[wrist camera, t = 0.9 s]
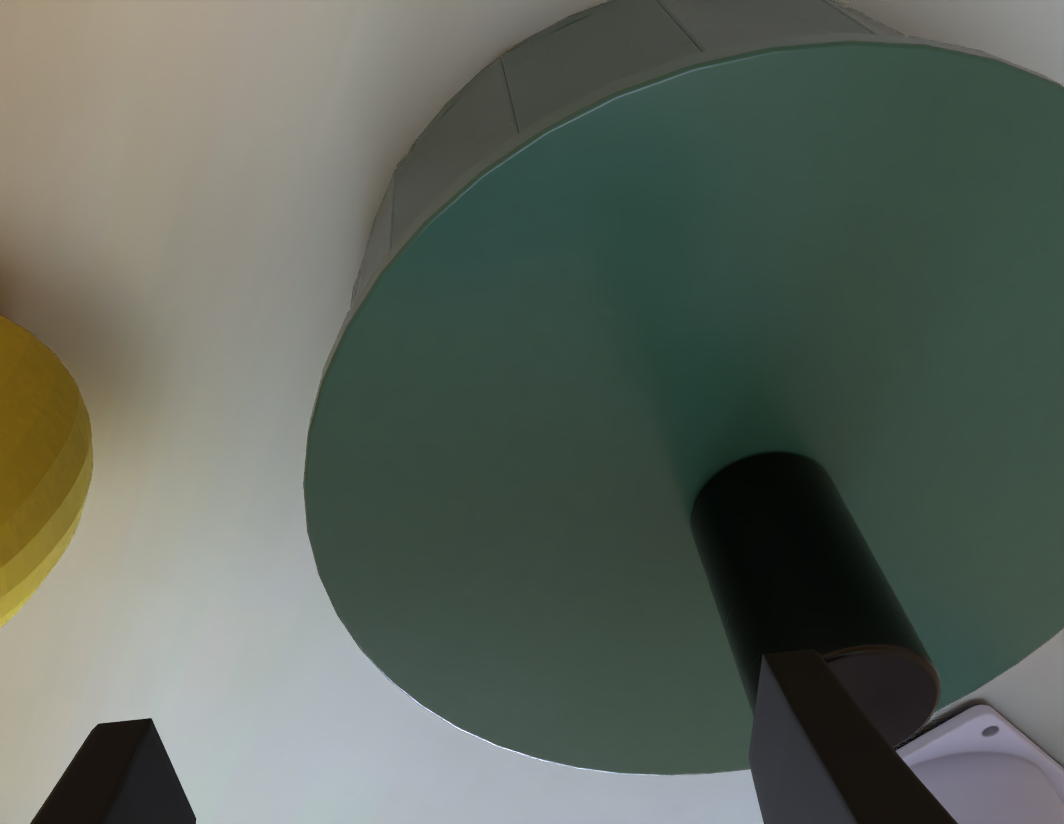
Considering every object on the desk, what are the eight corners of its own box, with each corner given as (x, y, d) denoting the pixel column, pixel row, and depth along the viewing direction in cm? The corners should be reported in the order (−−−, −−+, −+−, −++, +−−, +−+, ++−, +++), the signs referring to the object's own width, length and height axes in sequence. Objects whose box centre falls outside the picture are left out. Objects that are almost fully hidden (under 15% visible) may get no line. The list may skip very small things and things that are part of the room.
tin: (1106, 307, 21) (1289, 459, 17) (646, 631, 26) (692, 816, 21) (741, -213, 15) (878, -192, 10) (221, 342, 20) (162, 520, 15)
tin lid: (1301, 436, 17) (1579, 658, 13) (683, 810, 22) (742, 1054, 18) (871, -273, 10) (1167, -278, 6) (125, 498, 16) (18, 774, 11)
